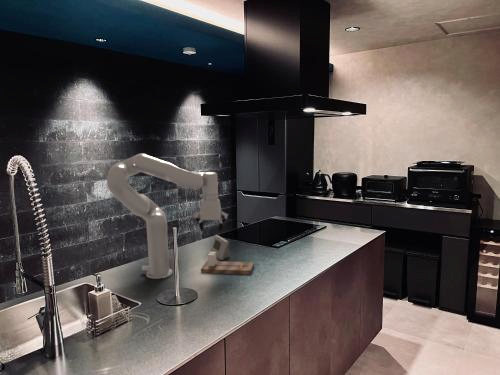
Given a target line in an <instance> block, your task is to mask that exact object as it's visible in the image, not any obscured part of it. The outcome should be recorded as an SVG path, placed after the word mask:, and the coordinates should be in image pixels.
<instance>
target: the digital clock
mask: <svg viewBox="0 0 500 375" xmlns="http://www.w3.org/2000/svg"><path fill="white" fill-rule="evenodd" d="M229 246H230V242H229V241H228V240H227V239H226V238H223V237H222V236H220V235H218V234H215V235H214V237H213V241H212V244H211V246H210V250H209V253H210V252H216V259H219V261H220V260H221V261H223V260H225V259H227V258H230V257H231V256H230V249H229Z"/></svg>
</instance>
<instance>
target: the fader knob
mask: <svg viewBox="0 0 500 375" xmlns="http://www.w3.org/2000/svg"><path fill="white" fill-rule="evenodd" d="M207 261H208V266H215V264H216V261H217V257H216V252H210V251H209V253H208V254H207Z"/></svg>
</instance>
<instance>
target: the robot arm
mask: <svg viewBox="0 0 500 375" xmlns="http://www.w3.org/2000/svg"><path fill="white" fill-rule="evenodd" d="M139 173H143V174H146V175H148V176H153V177H156V178H159V179H162V180H164V181H167V182H171V183H173V184H176V185H179V186H182V187H184V188H188V189H192V190H200V189H201V188H202V193H201V194H199V198H202V199H201V200H200V207H199V211H197V212H195V213H193V216H194V218H195V220H196V221H197V222H198V224H199V230H200V232H202V231H204V222H203V221H218V223H219V224H218V225H219V226H218V227H219V232H222V231H223V230H224V222H225V221H226V220H227V219H228V216H229V213H226V212H224V211H222V207H221V202H220V201H221V200H220V199H219V186H218V185H219V184H218V183H219V182H218V178H219V177H218V173H217V172H214V171H207V172H198V171H197V172H196V171H193V172H192V171H189V170H187V169H183V168H180V167H179V166H176V165H175V164H173V163H171V162H169V161H167V160H166V161H165V160H163V159H159V158H157V157H155V156H154V157H153V156H151V155H148V154H147V153H143V152H142V153H138V154H137V153H136V155H133V156H131V157H129V158H126V159H124V160H121V161H118V162H116V163H115V164H113V165H112V166H111V167H110V168H109V170H108V172H107V176H106V185H107V189H108V190H109V192H110V193H111V194H112V195H113V196H114V198H116V199H117V200H118V201H119V202H120V203H121V204H122V205H123V206H124V207H125V208H127V209H128V210H129V211H130V212H131V213H132V214H133V215H135V216H137V217H141V218H142V219H143V220H144V221H146V222H145V223H146V235H147V253H148V254H147V255H148V256H147V257H148V265H141V270H142V272H146V274H145V275H146V278H148V279H153V280H162V279H165V278H168V277H171V276H172V274H173V269H171V268H170V261H169V245H168V219H167V216H166V213H165V212H164V210H162V208H161V207H159V206H158V205H157V203H155V202H154V201H153V200H152V199H151V198H149V197H148V196H147V195H146V194H142V193H139V192H138V191H137V190H136V189H135V188H134V187H132V186H131V185H130V184H129V183H128V181H127V179H128V178H130V177H133V176H135V175H137V174H139ZM222 216H224V217H223V218H222ZM161 278H162V279H161Z"/></svg>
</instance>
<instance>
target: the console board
mask: <svg viewBox="0 0 500 375" xmlns="http://www.w3.org/2000/svg"><path fill="white" fill-rule="evenodd" d="M254 262H255V261H253V262H252V261H223V260H221V261H220V260H219V261H217V260H216V264H215V266H208V260H206V261H205V263H204V264H203V265H202V267H201V268H200V273H201V274H222V275H249V276H250V275H252V273H253V269H254V264H255V263H254Z"/></svg>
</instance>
